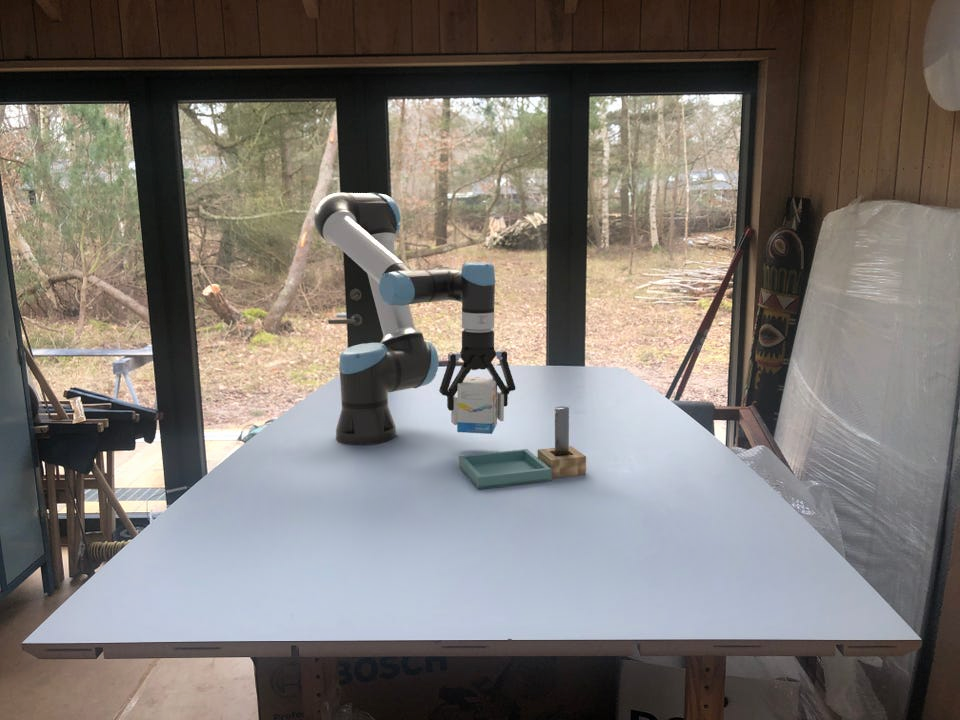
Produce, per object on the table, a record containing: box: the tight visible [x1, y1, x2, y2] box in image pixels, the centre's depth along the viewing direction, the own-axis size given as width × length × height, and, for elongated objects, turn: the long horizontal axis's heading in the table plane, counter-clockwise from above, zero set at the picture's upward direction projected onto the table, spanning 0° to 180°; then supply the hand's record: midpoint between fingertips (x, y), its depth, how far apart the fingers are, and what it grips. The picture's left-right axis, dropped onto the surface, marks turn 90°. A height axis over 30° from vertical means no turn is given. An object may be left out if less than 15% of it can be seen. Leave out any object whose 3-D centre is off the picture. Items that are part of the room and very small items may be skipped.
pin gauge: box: [554, 406, 570, 457], centre depth 164 cm, size 3×3×14 cm
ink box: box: [456, 376, 498, 435], centre depth 179 cm, size 9×8×12 cm
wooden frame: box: [537, 445, 587, 479], centre depth 165 cm, size 8×8×4 cm
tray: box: [458, 448, 553, 490], centre depth 164 cm, size 16×15×3 cm
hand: (477, 421), depth 180 cm, fingers closed on ink box, 11 cm apart
